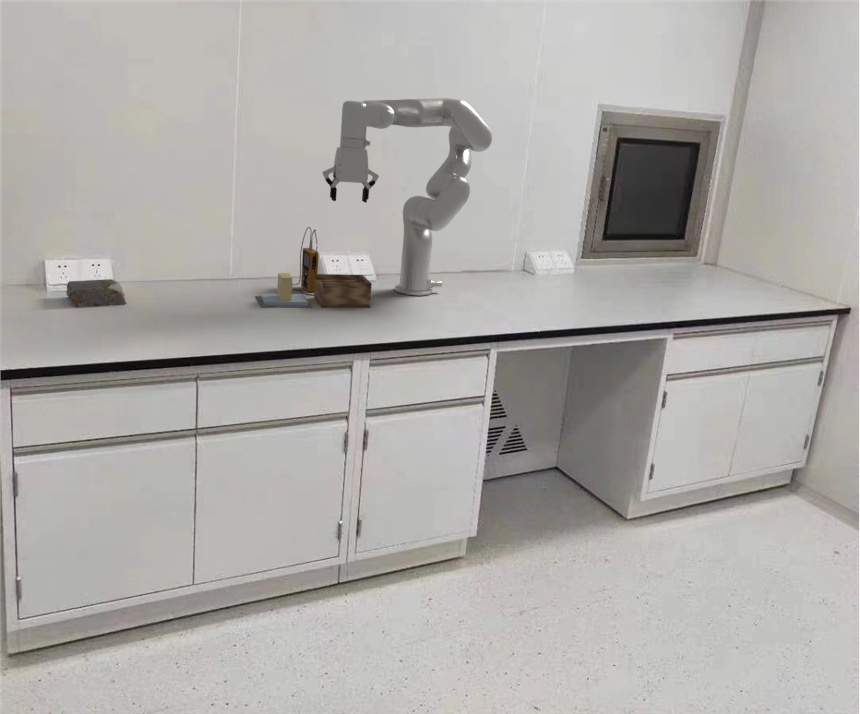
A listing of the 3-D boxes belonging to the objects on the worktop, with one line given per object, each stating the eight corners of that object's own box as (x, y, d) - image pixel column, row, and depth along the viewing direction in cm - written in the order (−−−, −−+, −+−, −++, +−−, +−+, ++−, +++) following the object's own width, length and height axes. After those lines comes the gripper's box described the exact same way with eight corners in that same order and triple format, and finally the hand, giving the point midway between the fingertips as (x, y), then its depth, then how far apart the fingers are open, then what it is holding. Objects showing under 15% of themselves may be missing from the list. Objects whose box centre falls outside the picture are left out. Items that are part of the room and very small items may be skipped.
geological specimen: (62, 281, 241) (118, 276, 249) (65, 302, 243) (120, 296, 251) (69, 289, 233) (126, 284, 240) (71, 311, 234) (128, 305, 242)
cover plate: (302, 297, 266) (303, 272, 264) (308, 305, 258) (309, 279, 256) (260, 297, 262) (261, 271, 259) (264, 305, 254) (265, 278, 251)
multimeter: (275, 285, 279) (278, 223, 273) (305, 284, 284) (308, 224, 278) (290, 296, 267) (293, 232, 261) (321, 295, 272) (324, 232, 266)
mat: (304, 297, 268) (304, 296, 268) (312, 307, 257) (312, 306, 257) (255, 296, 263) (255, 295, 263) (261, 307, 252) (261, 306, 252)
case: (360, 298, 273) (362, 274, 271) (369, 307, 263) (371, 283, 261) (314, 297, 268) (315, 273, 266) (321, 307, 258) (323, 282, 256)
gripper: (377, 144, 265) (373, 200, 270) (321, 140, 259) (318, 197, 264) (383, 147, 258) (379, 204, 263) (327, 143, 252) (323, 201, 257)
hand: (349, 201), depth 264 cm, fingers open, 9 cm apart
